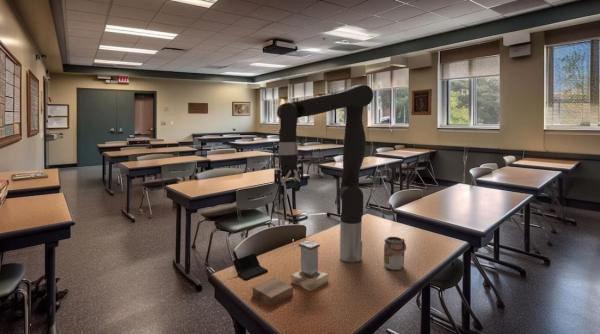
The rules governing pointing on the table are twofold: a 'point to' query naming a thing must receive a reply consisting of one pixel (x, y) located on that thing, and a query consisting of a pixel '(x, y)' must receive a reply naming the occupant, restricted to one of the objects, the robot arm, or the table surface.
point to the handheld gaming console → (248, 267)
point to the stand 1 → (272, 291)
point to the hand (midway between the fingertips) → (289, 192)
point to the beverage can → (394, 253)
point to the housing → (309, 259)
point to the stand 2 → (309, 280)
